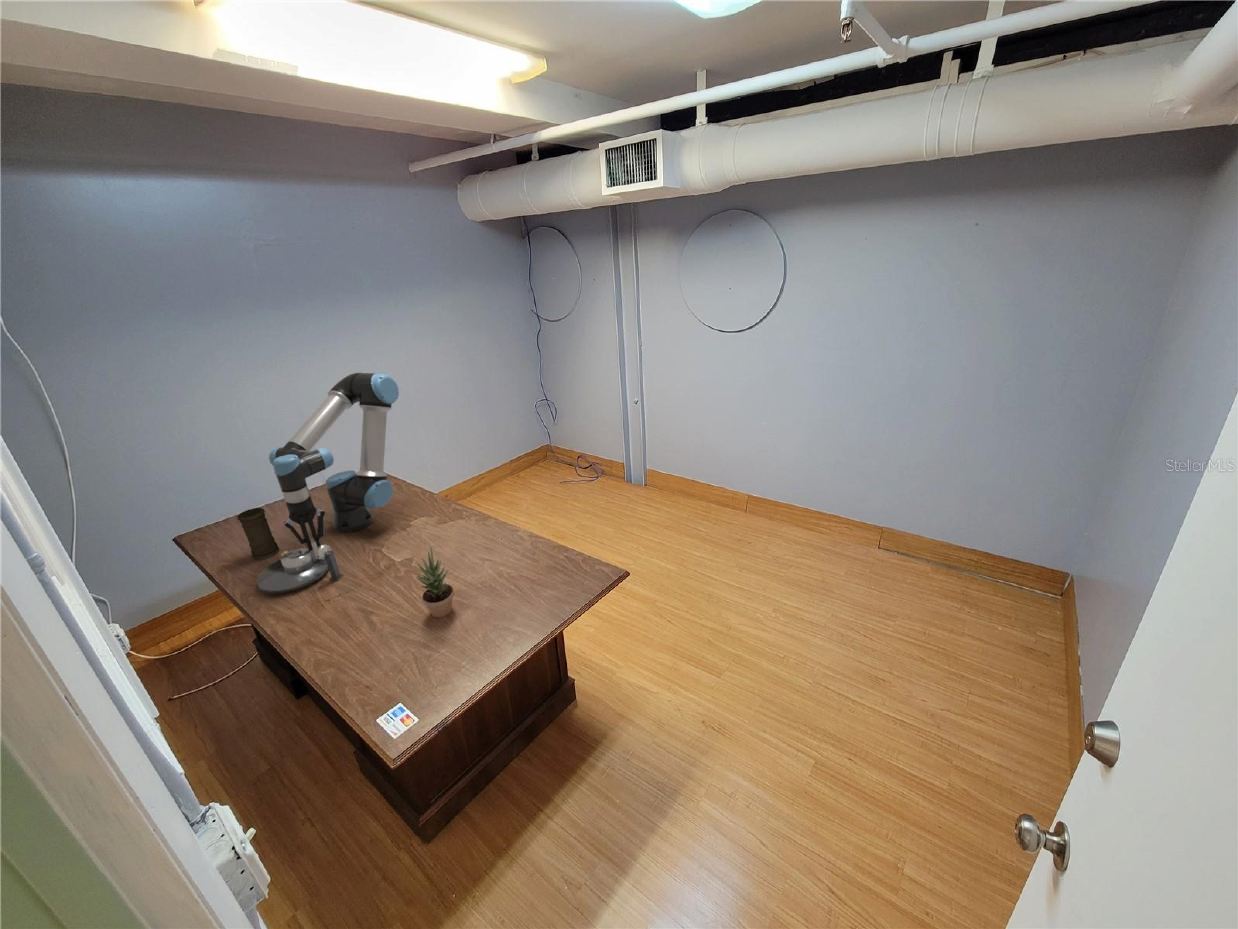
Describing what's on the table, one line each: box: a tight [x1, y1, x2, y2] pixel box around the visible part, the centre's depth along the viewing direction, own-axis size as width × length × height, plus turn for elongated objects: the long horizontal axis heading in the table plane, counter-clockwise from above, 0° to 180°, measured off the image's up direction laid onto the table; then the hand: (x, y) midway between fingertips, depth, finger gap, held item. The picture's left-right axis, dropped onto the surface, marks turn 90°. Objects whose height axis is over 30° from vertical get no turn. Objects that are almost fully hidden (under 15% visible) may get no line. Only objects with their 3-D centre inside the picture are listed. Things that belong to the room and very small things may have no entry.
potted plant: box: [415, 544, 455, 618], centre depth 153 cm, size 10×10×25 cm
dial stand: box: [317, 544, 344, 582], centre depth 174 cm, size 4×5×14 cm
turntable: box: [256, 549, 329, 595], centre depth 176 cm, size 22×22×5 cm
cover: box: [280, 547, 314, 575], centre depth 177 cm, size 9×9×6 cm
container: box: [237, 507, 280, 560], centre depth 190 cm, size 9×9×18 cm
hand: (317, 556), depth 181 cm, fingers closed
